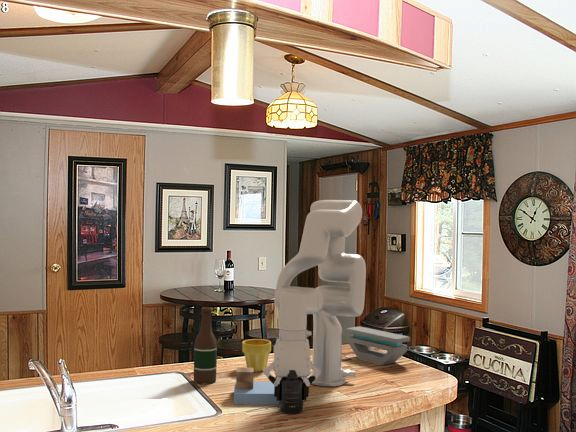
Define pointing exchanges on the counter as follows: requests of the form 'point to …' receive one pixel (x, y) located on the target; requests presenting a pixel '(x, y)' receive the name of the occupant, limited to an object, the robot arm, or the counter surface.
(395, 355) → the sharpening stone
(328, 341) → the robot arm
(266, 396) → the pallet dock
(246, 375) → the block
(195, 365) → the beer bottle
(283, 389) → the supplement bottle
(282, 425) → the counter surface
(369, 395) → the counter surface
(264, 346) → the plant pot
